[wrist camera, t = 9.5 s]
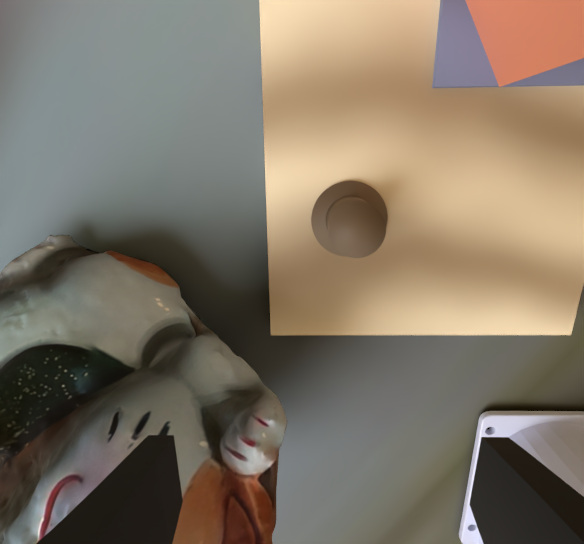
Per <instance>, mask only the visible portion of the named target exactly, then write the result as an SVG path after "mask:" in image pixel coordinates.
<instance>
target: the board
mask: <svg viewBox="0 0 584 544" xmlns="http://www.w3.org/2000/svg"><path fill="white" fill-rule="evenodd" d="M259 1H260V31H261V60H262V90H263V120H264V149H265V179H266V208H267V238H268V267H269V297H270V326H271V335H571V333H572V329H573V325H574V321H575V317H576V312H577V308H578V304H579V300H580V296H581V292H582V288H583V284H584V58H582V59H579V60H577V61H574V62H571V63H568V64H565V65H562V66H559V67H556V68H553V69H551V70H548V71H545V72H542V73H539V74H536V75H533V76H530V77H527V78H525V79H522V80H519V81H516V82H513V83H510V84H507V85H504V86H501V87H499V85H498V82H497V80H496V77H495V75H494V72H493V70H492V67H491V65H490V62H489V59H488V57H487V54H486V52H485V49H484V47H483V44H482V42H481V39H480V36H479V34H478V31H477V29H476V26H475V24H474V21H473V19H472V16H471V13H470V11H469V8H468V6H467V3H466V1H465V0H259Z"/></svg>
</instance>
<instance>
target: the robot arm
mask: <svg viewBox="0 0 584 544" xmlns="http://www.w3.org/2000/svg"><path fill="white" fill-rule="evenodd" d="M488 427H491V428H489V429H487V428H488ZM486 429H487V430H486ZM182 503H183V499H182V491H181V484H180V477H179V469H178V462H177V455H176V448H175V440H174V435H148V436H147V437H146V438H145V439H144V440H143V441H142V442H141V443H140V444H139V445H138V446H137V447H136V448H135V449H134V450H133V451H132V452H131V453H130V454H129V455H128V456H127V457H126V458H125V459H124V460H123V461H122V462H121V463H120V464H119V465H118V466H117V467H116V468H115V469H114V470H113V471H112V472H111V473H110V474H109V475H108V476H107V477H106V478H105V479H104V480H103V481H102V482H101V483H100V484H99V485H98V486H97V487H96V488H95V489H94V490H93V491H92V492H91V493H90V494H88V495H87V496H86V497H85V498H84V499H83V500H82V501H81V502H80V503H79V504H78V505H77V506H76V507H75V508H74V509H73V510H72V511H71V512H70V513H69V514H68V515H67V516H66V517H65V518H64V519H63V520H62V521H60V522H59V523H58V524H57V525H56V526H55V527H54V528H53V529H52V530H51V531H50V532H49V533H47V534H46V535H45V536H44V537H43V538H42V539H41V540H40V541H39V542H37V543H36V544H172V543H173V539H174V535H175V531H176V527H177V523H178V519H179V515H180V511H181V507H182ZM459 537H460V540H461V542H462V543H463V544H584V411H486V412H484V413H482V414H481V415H480V418H479V422H478V428H477V433H476V439H475V445H474V451H473V456H472V462H471V468H470V474H469V479H468V485H467V491H466V497H465V502H464V508H463V514H462V520H461V525H460V531H459Z"/></svg>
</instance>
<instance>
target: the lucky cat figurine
mask: <svg viewBox="0 0 584 544" xmlns="http://www.w3.org/2000/svg"><path fill="white" fill-rule="evenodd" d="M218 337H219V336H217V335H216V334H215V333H213V332H212V331H211V330H210V329H209V328H208V327H207V326H205V325H204V324H203V323H202V322H201V320H200V319H199V318H198V317H197V316H196V315H195V314H194V313H193V312H192V310H191V309H190V308H189V307H188V306H187V304H186V303H185V301H184V300H183V299H182V298H181V294H180V288H179V286H178V284H177V283H176V282H175V280H174V279H173V278H172V277H171V276H169V275H168V274H167V273H166V272H165V271H164V270H163V269H161V268H160V267H159V266H157V265H156V264H153V263H149V262H146V261H143V260H139V259H136V258H133V257H129V256H126V255H123V254H120V253H117V252H115V251H111V250H108V251H106V252H104V253H98V252H95V251H92V250H89V249H85V248H84V247H81V246H78V245H77V243H76V242H75V241H74V240H73V239H72V237H71V236H69V235H68V236H66V235H58V236H52V235H50V236H49V237H48V238H47V239H46V240H45V241H43V242H42V243H41V244H39V245H38V246H36V247H34V248H32V249H30V250H29V251H27V252H25V253H24V254H22V255H20V256H19V257H17V258H15V259H14V260H12V261H11V262H10V263H9V264H8V265H7V266H6V267H5V268H4V269H3V271H2V272H1V274H0V544H36V543H37V542H39V541H40V540H41V539H42V538H43V537H44V536H45V535H46V534H47V533H49V532H50V531H51V530H52V529H53V528H54V527H55V526H56V525H57V524H58V523H59V522H60V521H62V520H63V519H64V518H65V517H66V516H67V515H68V514H69V513H70V512H71V511H72V510H73V509H74V508H75V507H76V506H77V505H78V504H79V503H80V502H81V501H82V500H83V499H84V498H85V497H86V496H87V495H88V494H90V493H91V492H92V491H93V490H94V489H95V488H96V487H97V486H98V485H99V484H100V483H101V482H102V481H103V480H104V479H105V478H106V477H107V476H108V475H109V474H110V473H111V472H112V471H113V470H114V469H115V468H116V467H117V466H118V465H119V464H120V463H121V462H122V461H123V460H124V459H125V458H126V457H127V456H128V455H129V454H130V453H131V452H132V451H133V450H134V449H135V448H136V447H137V446H138V445H139V444H140V443H141V442H142V441H143V440H144V439H145V438H146V437H147V436H148V435H174V440H175V448H176V455H177V462H178V469H179V477H180V484H181V491H182V499H183V503H182V507H181V511H180V515H179V519H178V523H177V527H176V531H175V535H174V539H173V543H172V544H272V533H273V531H274V528H275V524H276V485H277V471H278V457H279V448H280V447H281V445H282V441H283V437H284V433H285V430H286V425H287V420H286V417H285V413H284V410H283V407H282V405H281V403H280V402H279V400H278V397H277V396H276V395H275V394H274V392H272V391H271V390H270V389H269V388H267V387H266V386H264V384H263V383H262V381H261V380H260V378H259V376H258V375H257V373H256V372H255V371H254V370H253V369H252V368H251V367H250V366H249V365H248V364H247V363H246V362H245V361H244V360H243V359H242V358H241V357H240V356H236V355H235V354H234V353H233V352H232V351H231V349H230V348H229V347H228V346H227V345H226V344H225V343H223V342H222V341H221V340H220V339H219V338H218Z"/></svg>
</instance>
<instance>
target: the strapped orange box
mask: <svg viewBox="0 0 584 544" xmlns="http://www.w3.org/2000/svg"><path fill="white" fill-rule="evenodd" d="M465 1H466V3H467V6H468V8H469V11H470V13H471V16H472V19H473V21H474V24H475V26H476V29H477V31H478V34H479V36H480V39H481V42H482V44H483V47H484V49H485V52H486V54H487V57H488V59H489V62H490V65H491V67H492V70H493V72H494V75H495V77H496V80H497V82H498V85H499V87H501V86H504V85H507V84H510V83H513V82H516V81H519V80H522V79H525V78H527V77H530V76H533V75H536V74H539V73H542V72H545V71H548V70H551V69H553V68H556V67H559V66H562V65H565V64H568V63H571V62H574V61H577V60H579V59H582V58H584V0H465Z"/></svg>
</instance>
